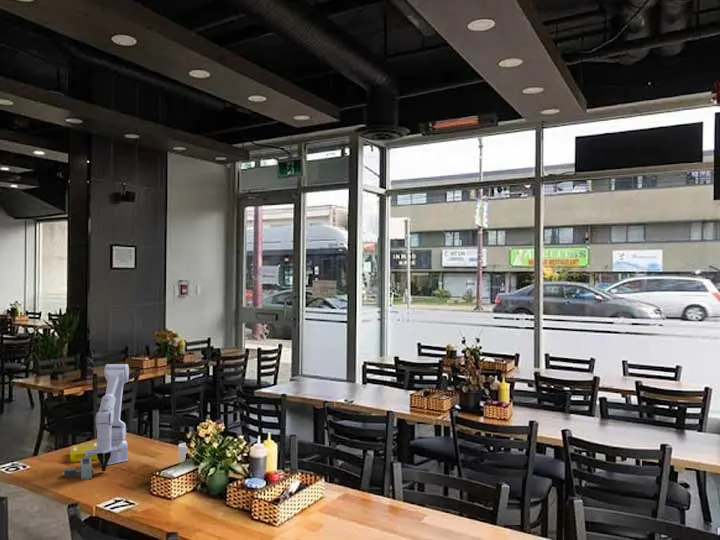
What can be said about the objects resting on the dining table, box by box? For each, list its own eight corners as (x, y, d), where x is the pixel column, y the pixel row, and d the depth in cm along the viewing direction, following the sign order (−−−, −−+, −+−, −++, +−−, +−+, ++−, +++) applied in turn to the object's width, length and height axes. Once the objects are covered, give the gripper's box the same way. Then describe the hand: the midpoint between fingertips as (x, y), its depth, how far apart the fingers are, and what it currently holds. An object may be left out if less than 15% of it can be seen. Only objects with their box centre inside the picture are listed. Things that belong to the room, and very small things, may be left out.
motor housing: (90, 469, 256) (90, 455, 256) (91, 478, 245) (92, 463, 245) (80, 471, 254) (80, 456, 254) (81, 479, 243) (81, 464, 243)
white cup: (185, 471, 256) (185, 448, 256) (174, 467, 261) (174, 444, 261) (199, 466, 262) (200, 444, 262) (188, 463, 267) (189, 441, 267)
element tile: (70, 454, 278) (70, 444, 278) (105, 450, 285) (105, 440, 285) (69, 463, 265) (70, 453, 265) (106, 459, 271) (106, 449, 271)
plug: (93, 472, 253) (93, 465, 253) (93, 475, 249) (93, 468, 249) (62, 475, 248) (63, 468, 249) (61, 478, 245) (61, 471, 245)
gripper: (86, 443, 246) (85, 475, 246) (123, 439, 252) (122, 471, 252) (85, 438, 252) (84, 470, 252) (121, 435, 259) (121, 466, 258)
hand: (103, 470), depth 252 cm, fingers closed
